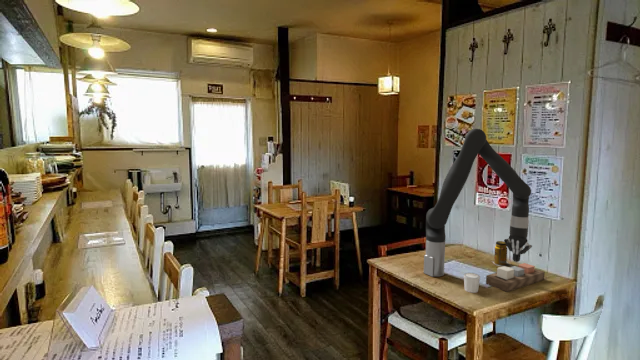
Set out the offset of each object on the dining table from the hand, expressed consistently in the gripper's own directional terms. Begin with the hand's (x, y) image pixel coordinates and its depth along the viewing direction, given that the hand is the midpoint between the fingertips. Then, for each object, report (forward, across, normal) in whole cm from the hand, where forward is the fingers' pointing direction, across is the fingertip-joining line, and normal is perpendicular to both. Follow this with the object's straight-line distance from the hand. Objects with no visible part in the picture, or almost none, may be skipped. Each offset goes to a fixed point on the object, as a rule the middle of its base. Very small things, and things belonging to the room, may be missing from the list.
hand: (516, 261), depth 180 cm
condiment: (+10, -19, +17) cm, 28 cm away
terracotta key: (+7, 0, +8) cm, 11 cm away
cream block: (+6, 0, -8) cm, 10 cm away
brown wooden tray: (+10, 0, 0) cm, 10 cm away
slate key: (+8, 0, 0) cm, 8 cm away
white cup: (+11, -4, -26) cm, 28 cm away
